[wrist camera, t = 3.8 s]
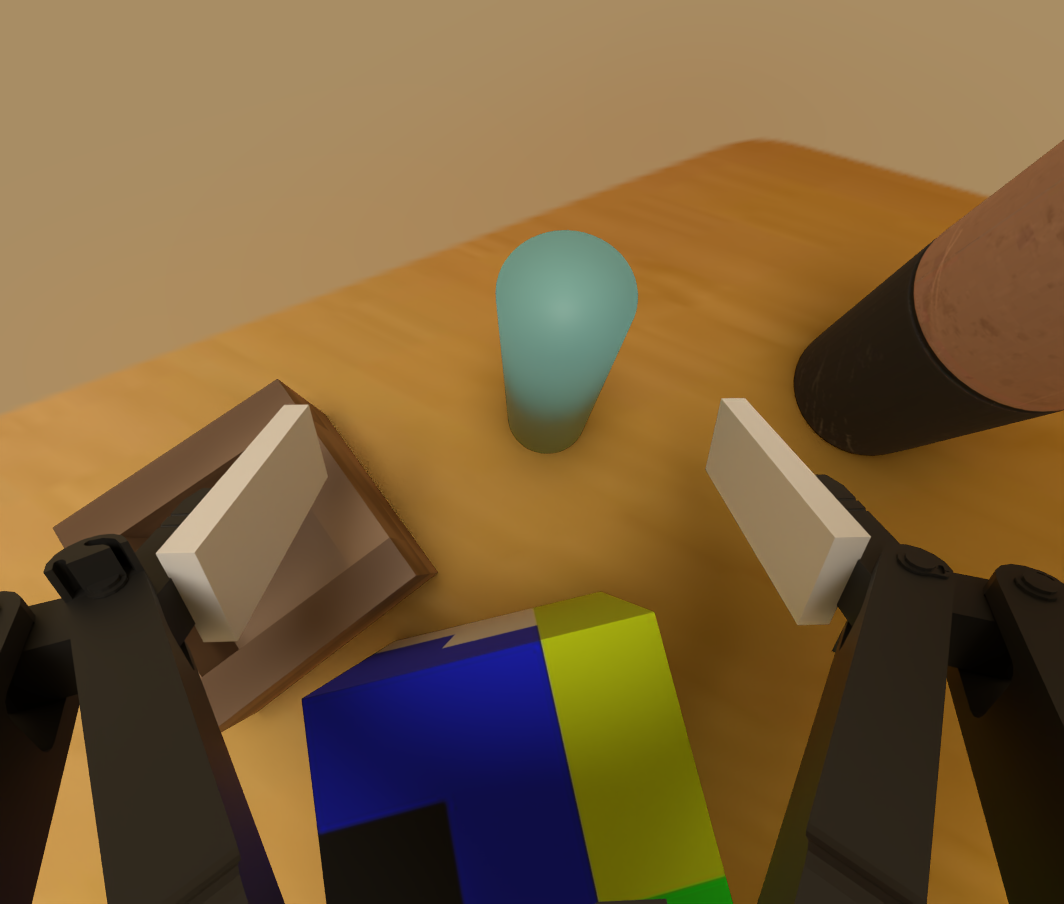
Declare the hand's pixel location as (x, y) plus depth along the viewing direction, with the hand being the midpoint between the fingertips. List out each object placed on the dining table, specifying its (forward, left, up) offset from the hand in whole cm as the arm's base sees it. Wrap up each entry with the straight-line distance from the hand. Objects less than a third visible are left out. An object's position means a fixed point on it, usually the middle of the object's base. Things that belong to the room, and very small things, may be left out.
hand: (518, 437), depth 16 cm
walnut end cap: (+4, +11, -9) cm, 14 cm away
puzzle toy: (-9, +7, -9) cm, 15 cm away
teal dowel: (+2, -3, -9) cm, 10 cm away
